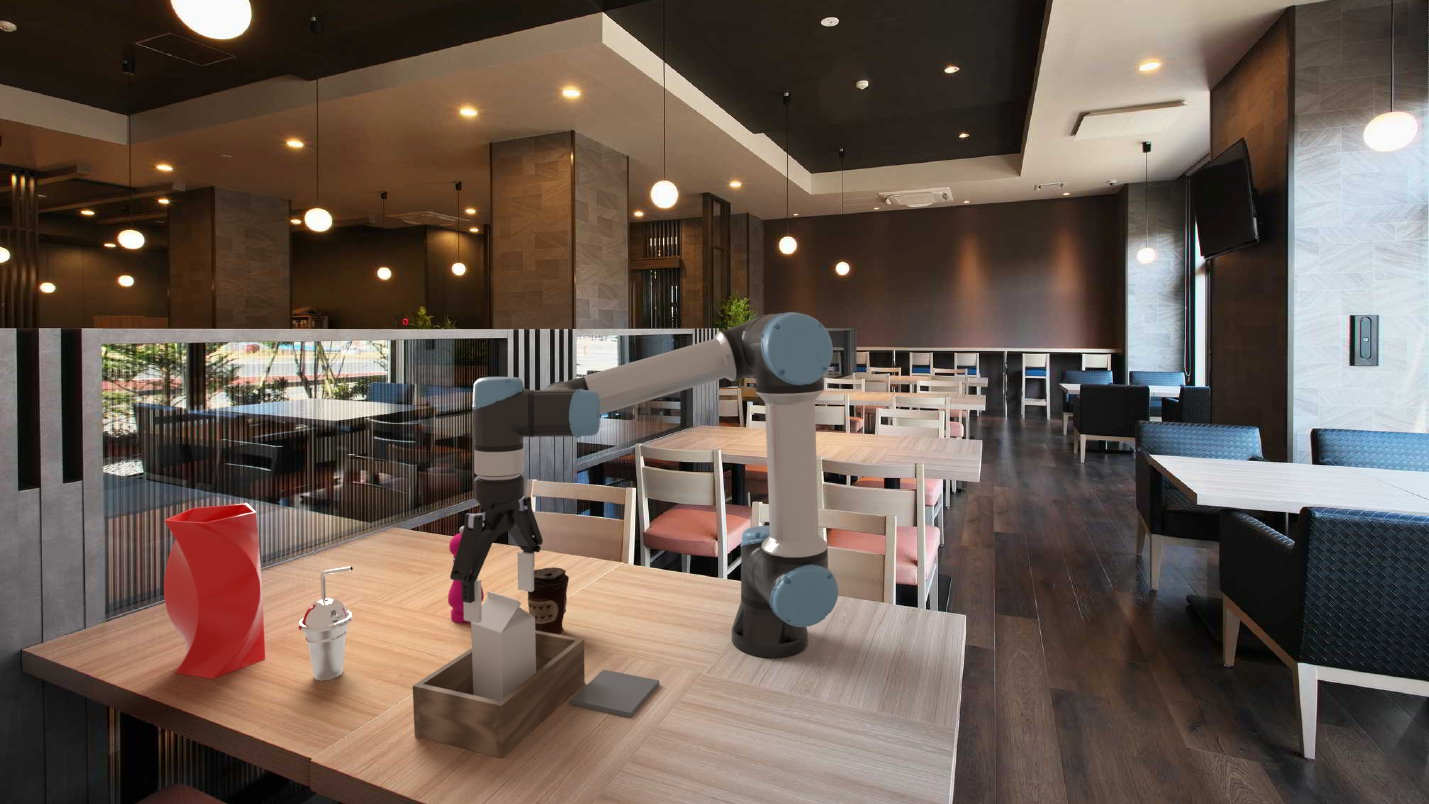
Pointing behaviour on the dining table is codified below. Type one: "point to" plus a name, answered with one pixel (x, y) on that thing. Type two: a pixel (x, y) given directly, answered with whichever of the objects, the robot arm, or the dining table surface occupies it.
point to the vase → (216, 589)
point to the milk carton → (502, 647)
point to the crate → (490, 723)
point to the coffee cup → (549, 599)
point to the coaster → (615, 693)
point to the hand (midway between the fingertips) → (500, 604)
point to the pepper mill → (457, 585)
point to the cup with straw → (326, 632)
